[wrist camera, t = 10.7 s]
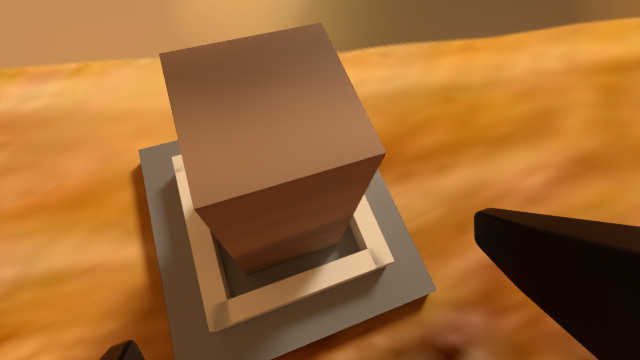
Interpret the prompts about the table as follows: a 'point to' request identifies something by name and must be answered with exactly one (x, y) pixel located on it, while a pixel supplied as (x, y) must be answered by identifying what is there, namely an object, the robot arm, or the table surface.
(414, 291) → the socket plate
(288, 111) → the block
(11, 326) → the table surface
